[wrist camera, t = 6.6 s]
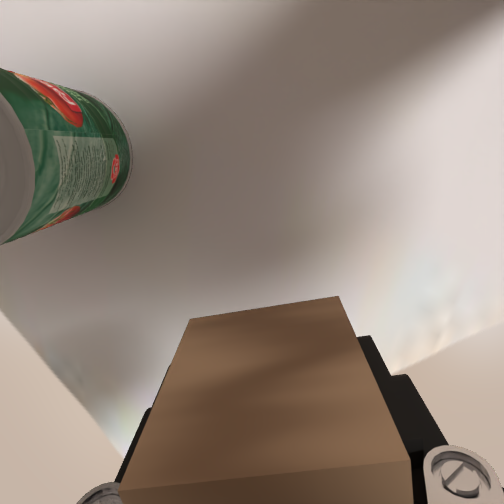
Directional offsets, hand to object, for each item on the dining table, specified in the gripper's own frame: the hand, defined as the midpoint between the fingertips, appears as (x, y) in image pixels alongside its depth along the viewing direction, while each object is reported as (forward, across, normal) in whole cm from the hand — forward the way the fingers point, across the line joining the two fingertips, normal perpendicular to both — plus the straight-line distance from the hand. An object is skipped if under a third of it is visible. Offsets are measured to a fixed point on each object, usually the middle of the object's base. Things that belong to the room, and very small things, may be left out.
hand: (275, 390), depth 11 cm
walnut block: (+1, 0, 0) cm, 1 cm away
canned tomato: (+15, +12, -9) cm, 21 cm away
